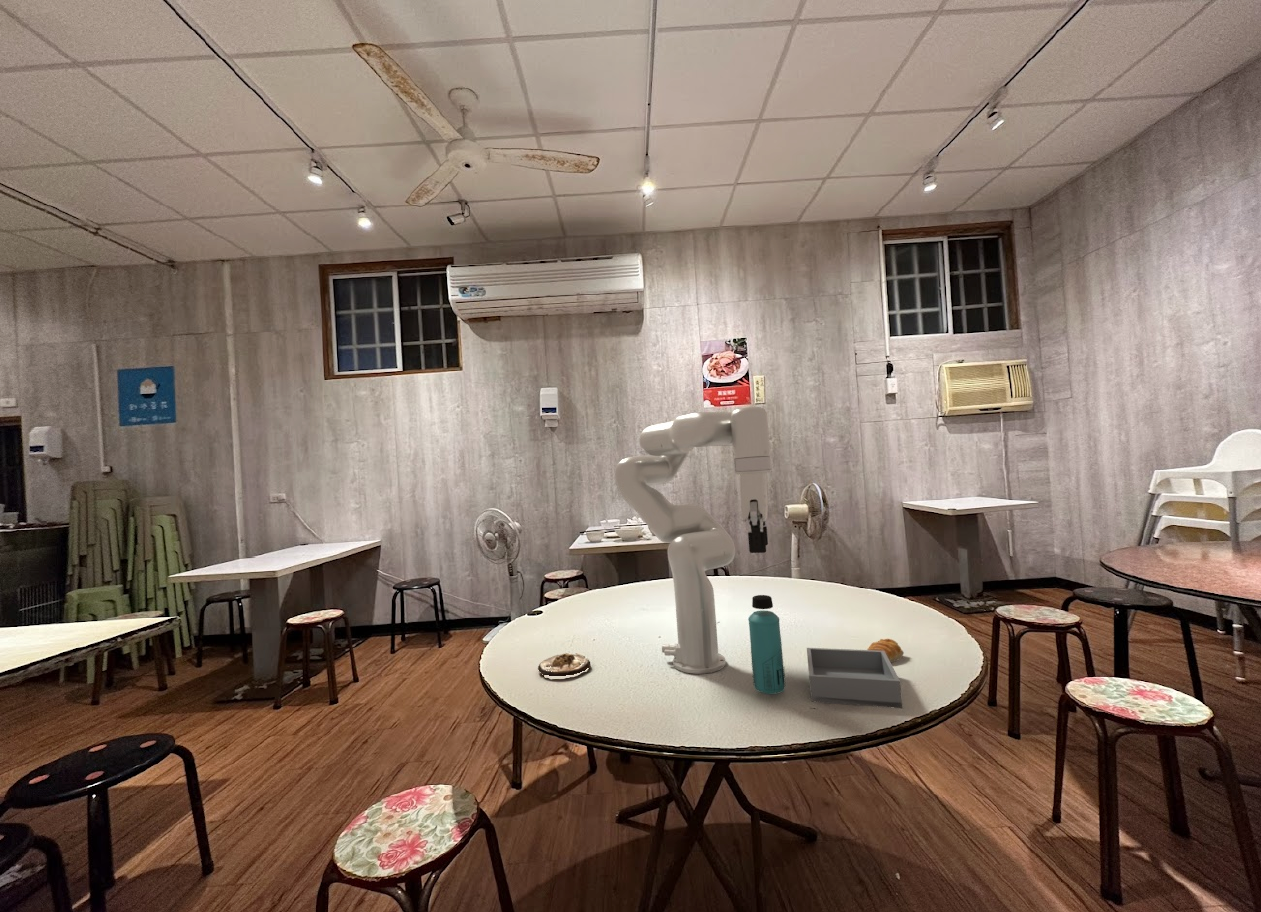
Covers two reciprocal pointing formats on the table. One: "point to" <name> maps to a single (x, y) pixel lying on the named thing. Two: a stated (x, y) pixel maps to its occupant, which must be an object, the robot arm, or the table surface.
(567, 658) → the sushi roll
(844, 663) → the bin
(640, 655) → the table surface
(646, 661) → the table surface
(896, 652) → the pastry
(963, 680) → the table surface
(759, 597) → the beverage bottle
